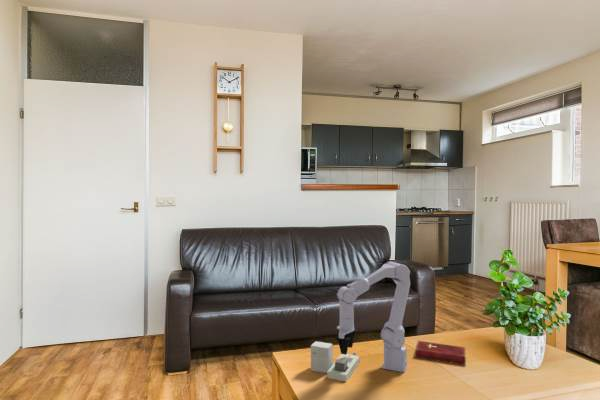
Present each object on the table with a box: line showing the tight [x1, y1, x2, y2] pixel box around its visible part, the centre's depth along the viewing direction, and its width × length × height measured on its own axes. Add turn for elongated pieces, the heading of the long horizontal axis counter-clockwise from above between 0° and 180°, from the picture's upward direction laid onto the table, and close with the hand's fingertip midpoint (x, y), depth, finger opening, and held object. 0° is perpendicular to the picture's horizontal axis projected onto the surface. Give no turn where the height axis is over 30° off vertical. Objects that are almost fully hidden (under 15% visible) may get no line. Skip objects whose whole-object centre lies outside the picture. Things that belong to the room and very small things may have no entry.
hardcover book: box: [414, 340, 467, 366], centre depth 174 cm, size 12×21×4 cm, turn 67°
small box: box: [310, 341, 334, 374], centre depth 160 cm, size 8×6×10 cm
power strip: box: [326, 352, 361, 383], centre depth 163 cm, size 8×27×3 cm, turn 156°
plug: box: [334, 356, 347, 372], centre depth 155 cm, size 4×4×6 cm
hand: (346, 350), depth 155 cm, fingers open, 7 cm apart
